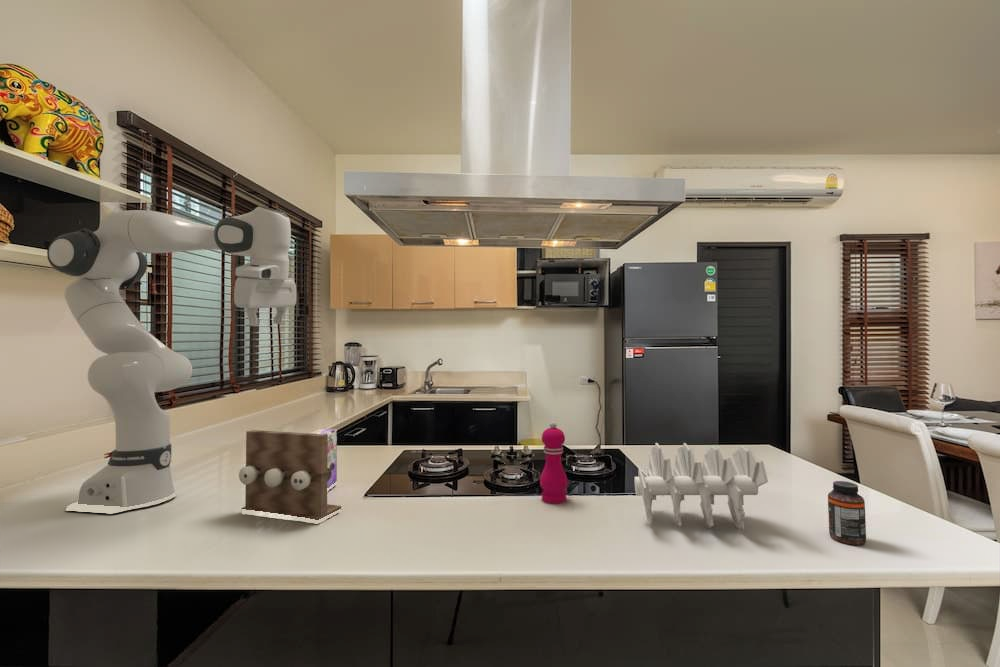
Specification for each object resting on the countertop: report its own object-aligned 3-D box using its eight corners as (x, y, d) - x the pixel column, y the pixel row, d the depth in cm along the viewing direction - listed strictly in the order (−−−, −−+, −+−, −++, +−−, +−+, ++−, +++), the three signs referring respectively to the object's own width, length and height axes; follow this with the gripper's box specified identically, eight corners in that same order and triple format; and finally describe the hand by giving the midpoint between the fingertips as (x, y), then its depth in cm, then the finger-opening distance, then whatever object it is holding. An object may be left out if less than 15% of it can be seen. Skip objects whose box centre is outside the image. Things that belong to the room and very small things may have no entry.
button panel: (241, 514, 107) (242, 432, 108) (268, 503, 114) (269, 426, 115) (318, 524, 100) (318, 437, 101) (341, 512, 108) (341, 430, 109)
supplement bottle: (829, 531, 95) (828, 477, 95) (866, 539, 91) (864, 482, 91) (828, 541, 90) (826, 484, 90) (866, 549, 86) (864, 489, 87)
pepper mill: (567, 495, 119) (566, 419, 120) (568, 504, 112) (567, 424, 113) (540, 494, 120) (539, 419, 121) (539, 503, 113) (538, 424, 113)
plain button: (264, 486, 102) (264, 468, 102) (282, 479, 108) (282, 463, 108) (278, 488, 101) (278, 470, 101) (296, 481, 106) (296, 464, 106)
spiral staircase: (636, 531, 105) (751, 532, 101) (644, 525, 90) (779, 525, 86) (628, 453, 114) (733, 451, 109) (633, 434, 98) (756, 431, 94)
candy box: (317, 501, 116) (317, 437, 116) (294, 501, 116) (295, 437, 116) (337, 485, 129) (337, 428, 130) (317, 485, 129) (317, 428, 130)
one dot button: (238, 483, 104) (238, 466, 105) (258, 477, 110) (258, 460, 110) (251, 485, 103) (252, 467, 103) (271, 478, 109) (271, 462, 109)
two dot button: (290, 489, 100) (290, 471, 100) (308, 482, 105) (308, 465, 105) (305, 491, 99) (305, 472, 99) (322, 483, 104) (322, 466, 104)
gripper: (283, 272, 127) (280, 321, 128) (230, 268, 107) (227, 325, 108) (304, 275, 126) (300, 323, 127) (254, 270, 106) (251, 328, 107)
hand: (266, 324), depth 117 cm, fingers open, 8 cm apart
